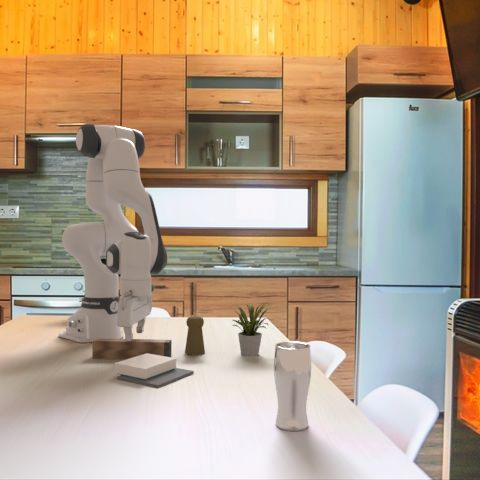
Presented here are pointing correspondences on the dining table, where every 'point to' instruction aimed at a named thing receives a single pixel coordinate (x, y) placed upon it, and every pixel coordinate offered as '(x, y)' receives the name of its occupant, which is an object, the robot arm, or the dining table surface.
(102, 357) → the wooden handle bar
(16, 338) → the dining table surface
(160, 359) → the tile
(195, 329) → the olive tapered upright piece
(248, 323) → the house plant
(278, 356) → the beer glass
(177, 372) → the mat
